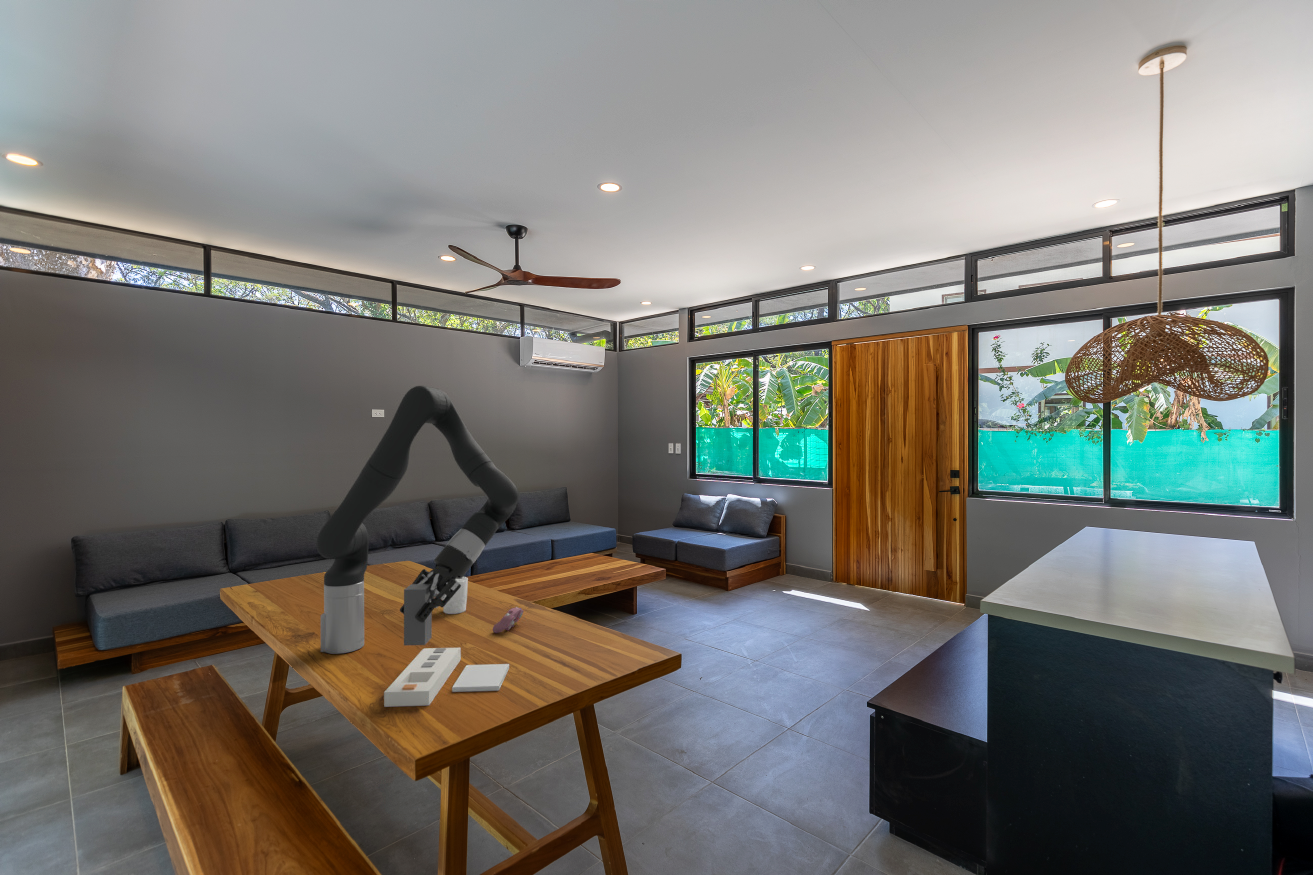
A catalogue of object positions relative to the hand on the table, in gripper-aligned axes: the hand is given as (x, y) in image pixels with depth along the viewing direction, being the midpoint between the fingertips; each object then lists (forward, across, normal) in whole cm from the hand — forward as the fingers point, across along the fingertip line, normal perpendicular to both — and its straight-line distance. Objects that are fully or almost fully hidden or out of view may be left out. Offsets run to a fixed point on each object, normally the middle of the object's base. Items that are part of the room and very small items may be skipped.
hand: (410, 616), depth 124 cm
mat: (+2, +6, +22) cm, 22 cm away
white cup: (-14, -45, +38) cm, 61 cm away
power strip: (+8, -3, +16) cm, 18 cm away
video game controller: (-15, -18, +39) cm, 46 cm away
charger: (+3, 0, +5) cm, 6 cm away
